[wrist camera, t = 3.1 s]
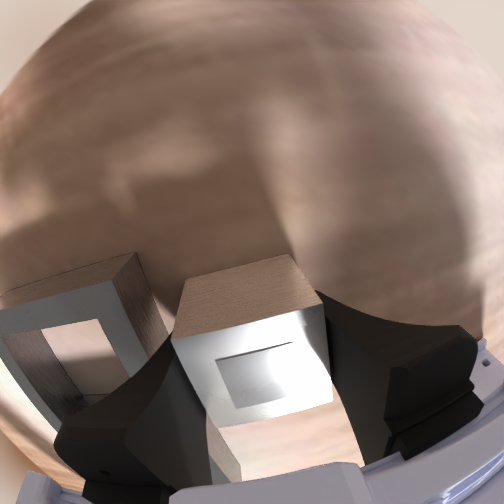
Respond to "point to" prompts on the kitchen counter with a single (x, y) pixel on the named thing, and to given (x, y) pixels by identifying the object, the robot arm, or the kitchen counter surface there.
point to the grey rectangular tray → (114, 326)
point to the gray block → (253, 341)
